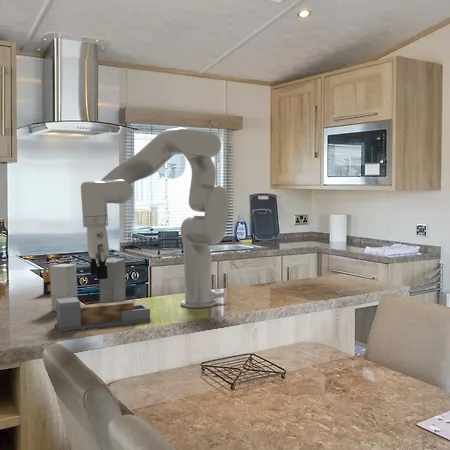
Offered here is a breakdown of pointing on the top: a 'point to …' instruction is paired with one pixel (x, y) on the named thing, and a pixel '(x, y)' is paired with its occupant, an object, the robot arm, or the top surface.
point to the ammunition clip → (47, 281)
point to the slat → (104, 312)
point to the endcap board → (72, 320)
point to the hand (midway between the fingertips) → (99, 276)
